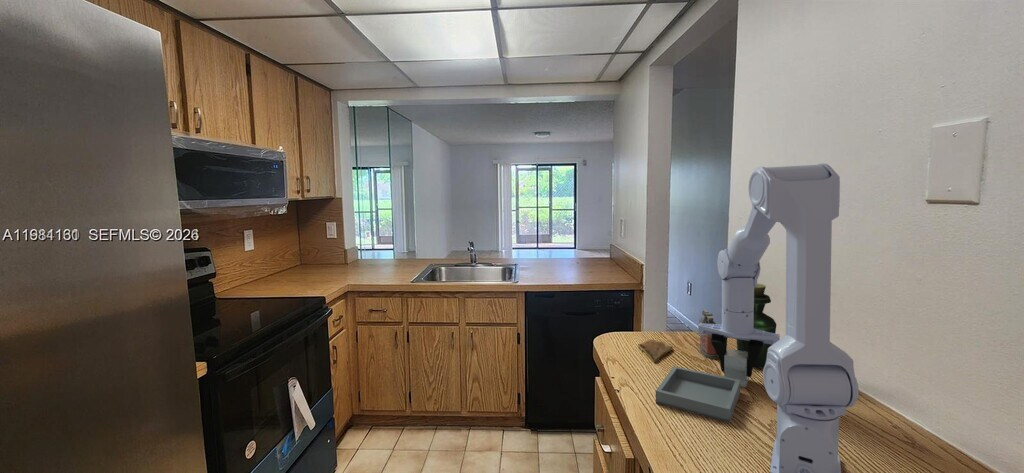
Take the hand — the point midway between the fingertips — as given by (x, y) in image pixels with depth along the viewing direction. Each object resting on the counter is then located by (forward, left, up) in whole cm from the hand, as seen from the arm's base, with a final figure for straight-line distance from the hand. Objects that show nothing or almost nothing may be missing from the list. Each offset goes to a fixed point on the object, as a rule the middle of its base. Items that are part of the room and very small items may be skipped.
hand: (736, 372), depth 84 cm
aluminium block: (0, 0, -2) cm, 2 cm away
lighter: (+13, +8, -2) cm, 15 cm away
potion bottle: (+12, -2, -2) cm, 12 cm away
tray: (-11, +5, -2) cm, 12 cm away
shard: (+7, +18, -3) cm, 19 cm away
